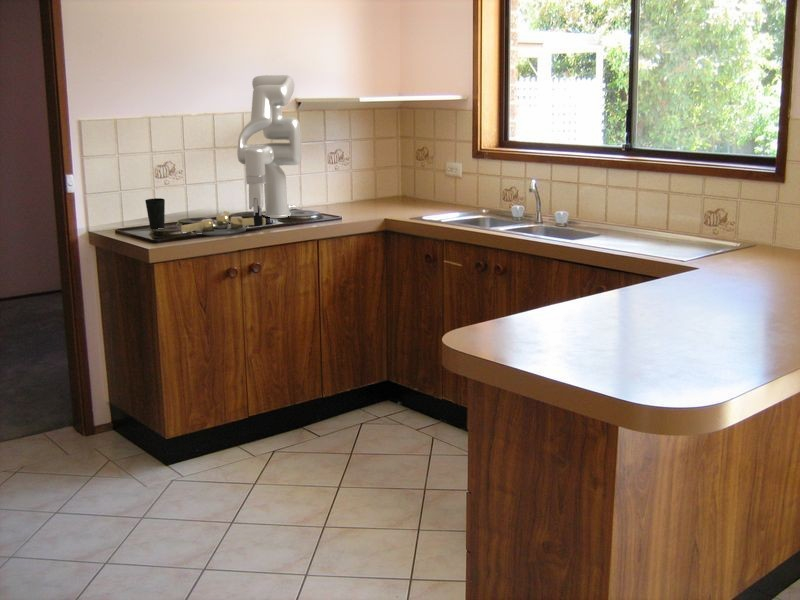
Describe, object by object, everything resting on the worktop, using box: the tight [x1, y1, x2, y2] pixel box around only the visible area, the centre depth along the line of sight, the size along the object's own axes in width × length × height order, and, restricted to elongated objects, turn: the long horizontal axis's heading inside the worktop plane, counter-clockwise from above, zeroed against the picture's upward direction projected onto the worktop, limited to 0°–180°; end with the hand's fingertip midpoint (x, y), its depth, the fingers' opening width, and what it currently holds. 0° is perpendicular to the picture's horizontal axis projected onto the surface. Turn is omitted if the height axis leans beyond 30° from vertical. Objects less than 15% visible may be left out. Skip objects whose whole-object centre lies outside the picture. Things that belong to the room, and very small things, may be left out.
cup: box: [144, 197, 166, 230], centre depth 368 cm, size 8×8×12 cm
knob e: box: [180, 218, 214, 233], centre depth 355 cm, size 14×5×4 cm, turn 138°
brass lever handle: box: [229, 216, 267, 228], centre depth 363 cm, size 14×5×4 cm, turn 93°
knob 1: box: [216, 210, 230, 225], centre depth 373 cm, size 14×5×4 cm, turn 3°
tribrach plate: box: [195, 222, 247, 237], centre depth 363 cm, size 20×20×3 cm
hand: (258, 225), depth 361 cm, fingers closed
